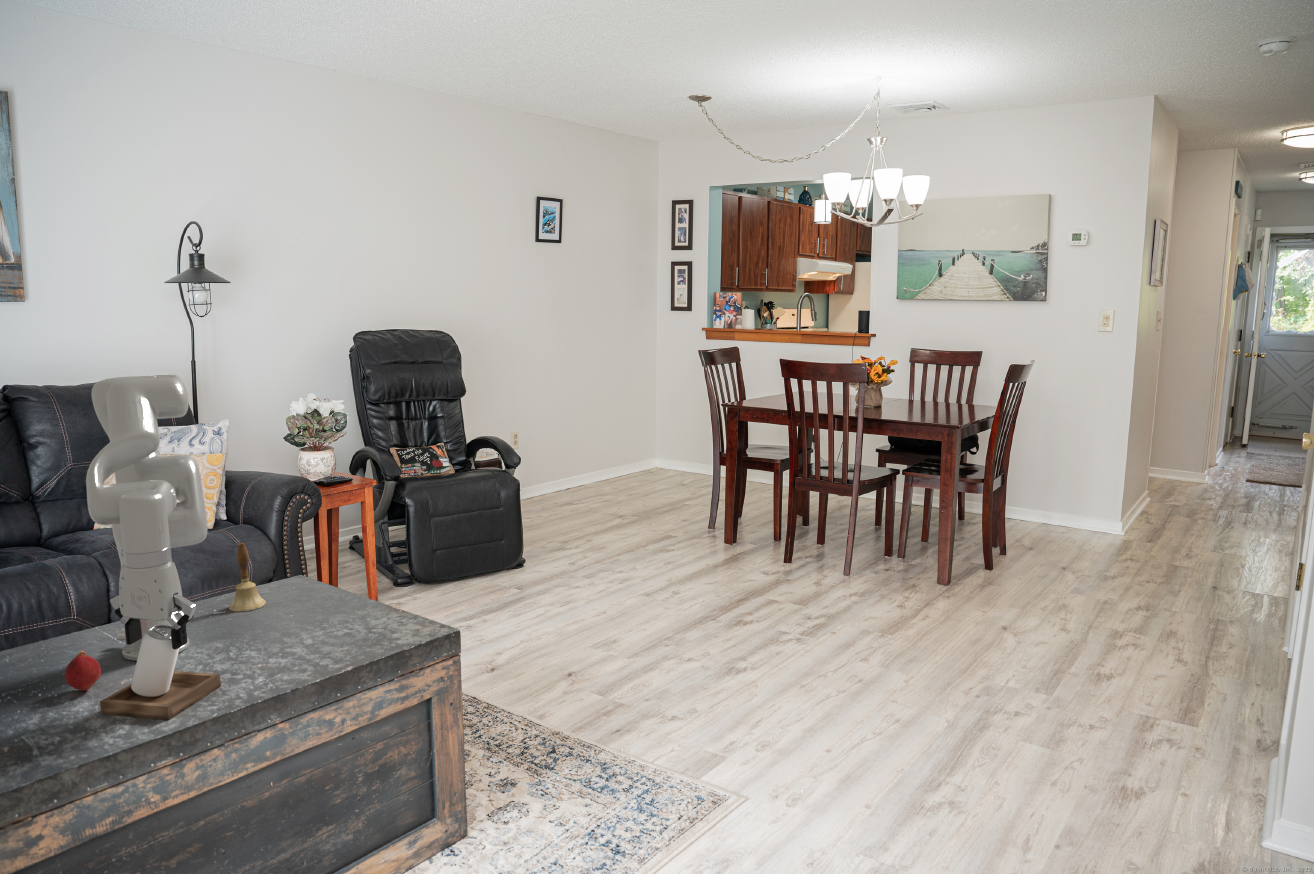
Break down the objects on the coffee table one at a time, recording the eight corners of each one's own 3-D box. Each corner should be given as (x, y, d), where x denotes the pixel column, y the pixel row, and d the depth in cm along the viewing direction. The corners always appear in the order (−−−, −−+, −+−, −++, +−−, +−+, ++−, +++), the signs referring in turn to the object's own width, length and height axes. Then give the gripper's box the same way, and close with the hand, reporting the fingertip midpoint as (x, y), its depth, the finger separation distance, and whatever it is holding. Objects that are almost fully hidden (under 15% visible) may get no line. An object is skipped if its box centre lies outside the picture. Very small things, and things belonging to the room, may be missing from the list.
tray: (101, 713, 160) (99, 701, 159) (157, 681, 173) (156, 669, 173) (168, 719, 157) (167, 706, 157) (220, 686, 171) (219, 674, 170)
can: (145, 701, 162) (159, 643, 160) (122, 686, 164) (136, 628, 162) (176, 691, 168) (190, 635, 166) (154, 676, 170) (168, 620, 168)
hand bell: (221, 611, 213) (215, 547, 210) (242, 599, 221) (237, 538, 218) (252, 612, 211) (247, 548, 209) (273, 601, 219) (267, 539, 217)
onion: (76, 699, 166) (71, 659, 164) (61, 693, 169) (56, 653, 167) (108, 688, 170) (104, 649, 169) (93, 681, 173) (89, 643, 172)
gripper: (90, 560, 159) (101, 648, 162) (175, 567, 156) (184, 656, 159) (122, 547, 166) (132, 631, 170) (203, 554, 163) (211, 639, 167)
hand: (157, 643), depth 164 cm, fingers open, 9 cm apart
